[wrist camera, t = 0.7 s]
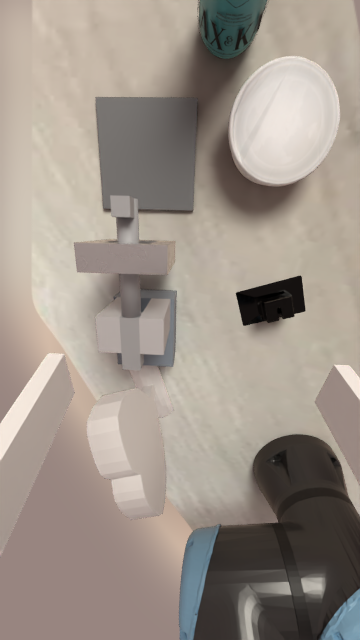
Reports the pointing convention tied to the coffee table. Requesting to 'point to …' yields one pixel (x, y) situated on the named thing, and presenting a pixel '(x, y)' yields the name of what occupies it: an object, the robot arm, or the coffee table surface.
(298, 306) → the black phone stand
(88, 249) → the ring
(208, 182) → the coffee table surface
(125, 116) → the mat
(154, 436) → the heart sculpture
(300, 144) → the ramekin
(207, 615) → the robot arm
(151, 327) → the vise
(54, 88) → the coffee table surface
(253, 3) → the beverage bottle
